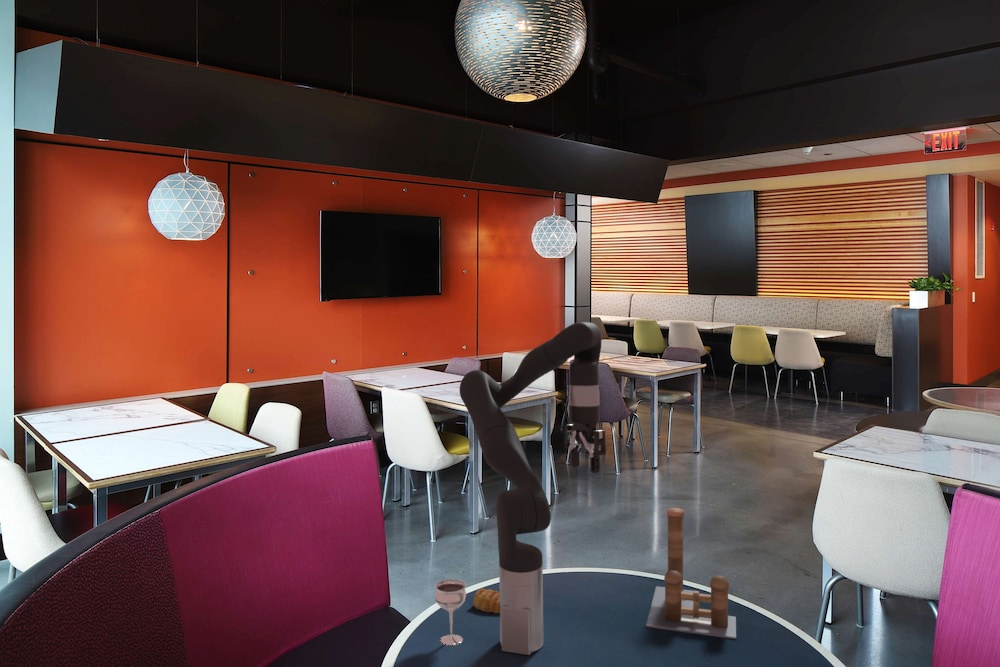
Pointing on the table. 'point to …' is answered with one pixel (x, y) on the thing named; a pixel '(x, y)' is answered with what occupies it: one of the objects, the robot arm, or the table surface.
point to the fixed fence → (696, 600)
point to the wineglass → (450, 604)
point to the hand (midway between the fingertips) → (584, 469)
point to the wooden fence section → (675, 540)
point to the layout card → (686, 619)
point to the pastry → (487, 600)
